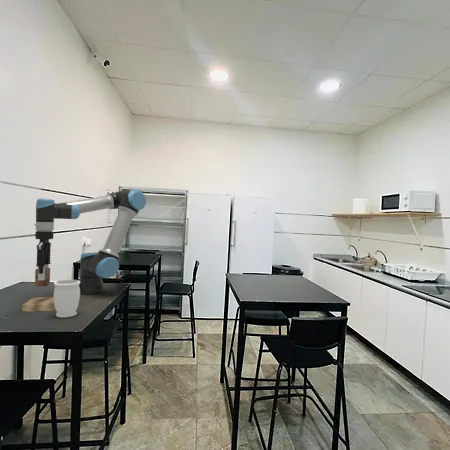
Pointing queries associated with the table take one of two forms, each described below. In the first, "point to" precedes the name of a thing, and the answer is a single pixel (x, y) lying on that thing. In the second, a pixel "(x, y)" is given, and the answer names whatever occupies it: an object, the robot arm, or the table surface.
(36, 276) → the block
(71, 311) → the jar
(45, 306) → the base
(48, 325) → the table surface
